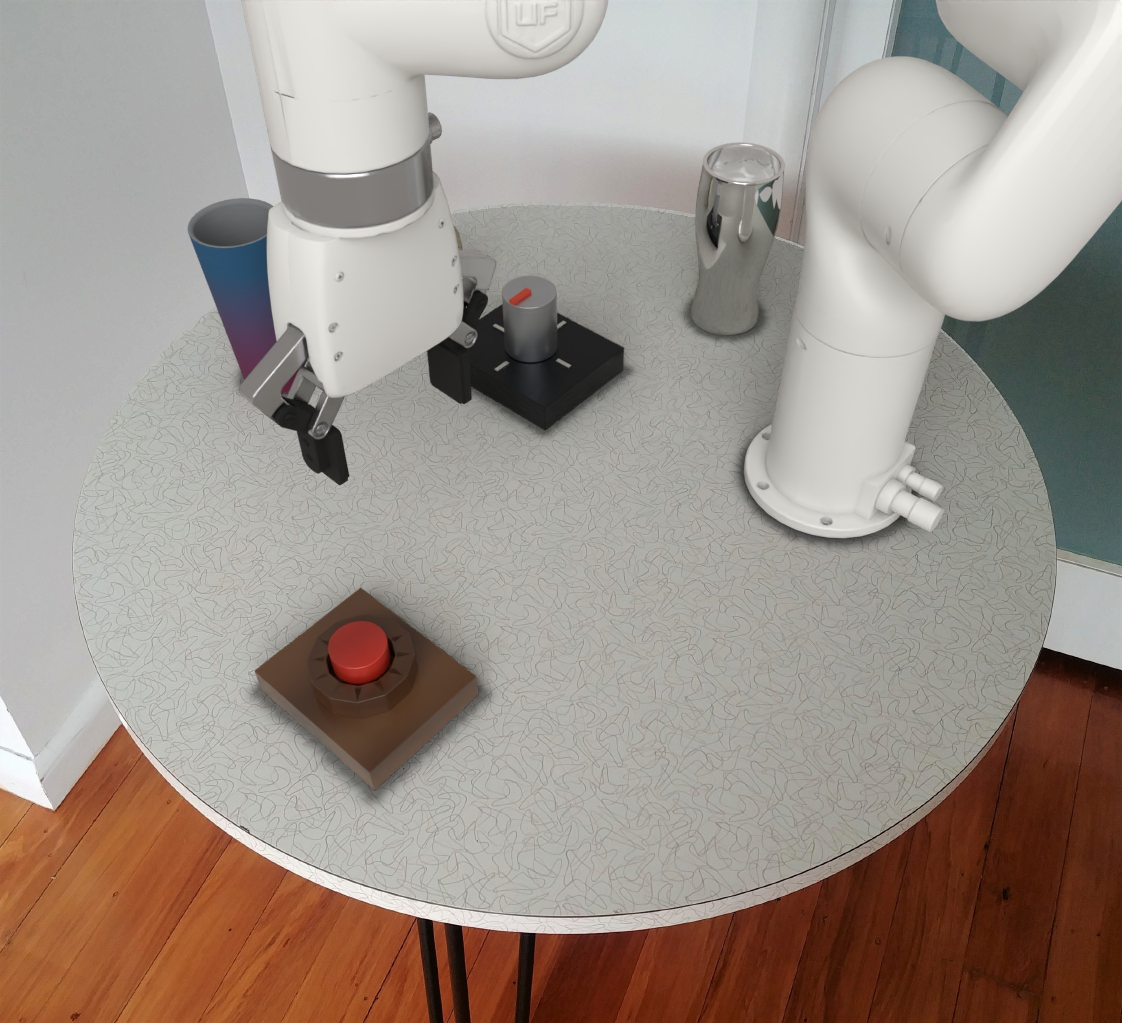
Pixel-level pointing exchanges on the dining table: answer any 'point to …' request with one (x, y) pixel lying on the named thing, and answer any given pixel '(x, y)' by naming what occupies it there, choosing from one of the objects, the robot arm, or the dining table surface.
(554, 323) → the tap knob
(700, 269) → the beer glass
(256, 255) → the cup
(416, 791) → the dining table surface
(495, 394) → the plate
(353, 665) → the button
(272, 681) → the button block
